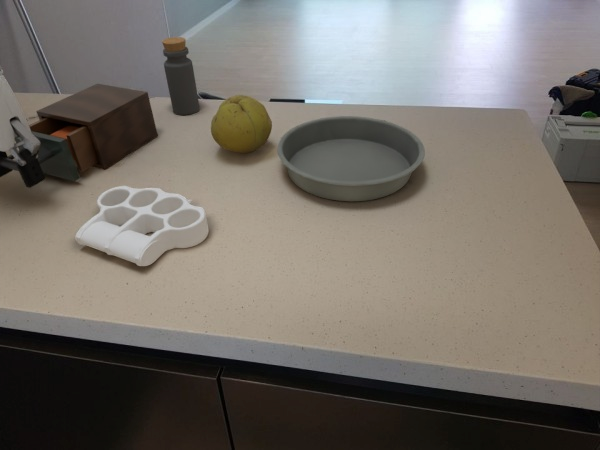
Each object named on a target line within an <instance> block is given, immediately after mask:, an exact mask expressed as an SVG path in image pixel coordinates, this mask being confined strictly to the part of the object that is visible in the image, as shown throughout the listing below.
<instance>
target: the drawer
mask: <svg viewBox="0 0 600 450" xmlns="http://www.w3.org/2000/svg"><path fill="white" fill-rule="evenodd" d="M68 125H70V126H74V127H79V129H77V130H75V131H73V132H71V133H69V134H67V135H66V136H67V139H68V142H69V144H70V147H71V150H72V153H73V155H74V158H75V160H73V157H72V155H71V152H70V149H69V146H68V144H67V141H66V139H63V138H59V137H55V136H50V135H51V134H53V133H55V132H57V131H59V130H61V129H62V128H64V127H66V126H68ZM29 127H30V130H31V133H32V134H33V135H34V136H35V137H36V138H37V139H38V140H39V141H40V143H41V145H40V147H39V152H38V156H39V157H38V158H37V159H38V162H39V164H40V166H41V169H42V171H43V173H44V174H46V175H50V176H54V177H57V178H61V179H64V180H68V181H72V182H77V181H78V180H79V179H81V176H80V173H79V172H81V173H84V172H85V171H87V170H88V169H90V168H91V166H93V165H95V164H96V163H98V162H99V158H98V155H97V152H96V149H95V146H94V143H93V140H92V137H91V134H90V131H89V128H88V126H86V125H81V124H77V123H72V122H67V121H63V120H58V119H53V118H48V117H45V118H43V119H41V120H37V121H35V122H33V123H30V124H29ZM18 142H20V140H19V139H17V138H16V139H15V144H16V143H18ZM17 149H18V151H19V153H20V154H21V155H22V153H23V150H25V148H24V147H23V145H21V146H19V147H17ZM18 164H19V163H18V162H17V161H16V159H15V158H14V157H13V155H12V154H11V153H10V155H7V157H5V158H4V157H0V166H2V167H5V168H9V169H13V171H16V172H19V170H18V168H17V166H16V165H18Z"/></svg>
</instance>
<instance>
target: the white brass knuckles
mask: <svg viewBox="0 0 600 450" xmlns="http://www.w3.org/2000/svg"><path fill="white" fill-rule="evenodd" d="M192 202H193V199H187V198H186V197H185V196H183V195H181V194H180V193H178V192H177V193H172V192H167V191H164V190H163V189H162V188H159V187H145V188H134V187H131V186H128V185H119V186H115V187H112V188H109V189H107V190H104V192H102V193H101V194H100V195H99V196H98V197H97V200H96V204H97V207H98V210H99V212H98V213H97V214H95V215H94V216H92V217H91V218H89V219H88V221H86V222H85V223H84V224H82V225H81V227H80V228H79V229H78V231H77V232H76V233H75V236H74V238H75V242H76V243H78V245H80V246H87V247H90V248H93V249H94V250H97V251H100V252H103V253H106V255H108V256H114V257H117V258H119V259H123V260H125V261H127V262H131V263H132V264H133V263H134V264H136V266H139V267H148V266H150V265H152V264H153V263H155V262H156V261H157V260H158V259H159V258H161V256H162V255H163V254H165V253H166V252H167V251H170V250H173V249H188V248H192V247H195V246H197V245H200V244H201V243H203V242H204V241H205V239H207V237H208V235H209V231H210V230H209V223H208V219H207V214H206V210H205V209H204V208H203V207H202V206H196V205H193V204H191V203H192ZM149 233H152V234H151V235H148V234H149Z"/></svg>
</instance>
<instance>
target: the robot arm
mask: <svg viewBox="0 0 600 450" xmlns="http://www.w3.org/2000/svg"><path fill="white" fill-rule="evenodd" d="M29 125H30V124H29V122H28V119H27V117H26V115H25V112H24V110H23V109H22V106H21V104H20V102H19V100H18V98H17V96H16V94H15V93H14V91H13V89H12V87H11V85H10V84H9V82H8V80H7V79H6V77H5V75H4V70H3V67H2V65H1V64H0V157H4V158H5V157H7V156H8V154H7V152H9V153H10V155H11V154H12V155H13V157H14V158H15V159H14V160H16V161H17V162H18V163H19V164H18V165H16V166H17V168H18V170H19V171H18V173H19V175H20V177H21V179H22V181H23V184H24V185H25V187H26V188H29V189H31V188H33V187H35V186H36V185H38V184H40V183H42V181H45V179H46V176H45V173H43V171H42V169H41V166H40V164H39V162H38V159H37V158H38V157H39V156H38V152H39V147H40V145H41V143H40V141H39V140H38V139H37V138H36V137H35V136H34V135H33V134H32V133H31V130H30V127H29ZM16 138H17V139H19V140H20V142H18V143H16V142H15V139H16ZM21 145H23V147H24V148H25V150H23V153H22V155H21V154H20V153H19V149H18V147H19V146H21ZM13 171H14V170H13V169H9V168H5V167H2V166H0V178H2V177H3V176H5V175H7V174H10V173H11V172H13Z"/></svg>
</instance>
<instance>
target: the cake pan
mask: <svg viewBox="0 0 600 450" xmlns="http://www.w3.org/2000/svg"><path fill="white" fill-rule="evenodd" d="M276 151H277V156H278V157H279V159H280V161H281V162H282V164H283V166H285V167H286V170H287V173H288V174H287V175H288V176H289V178H290V180H291V182H293V183H294V184H295V185H296V186H297V187H298V188H300V189H301V190H303V191H304V192H307V193H308V194H311V195H313V196H316V197H319V198H323V199H326V200H331V201H337V202H366V201H373V200H377V199H381V198H384V197H387V196H390V195H392V194H395V193H396V192H398V191H399V190H401V189H402V188H403V187H404V186H406V184H407V183H408V182H409V180H410V179H411V176H412V174H413V172H414V171H416V169H418V167H420V165H421V164H422V162H423V161H424V159H425V155H426V149H425V145H424V144H423V142H422V140H421V139H420V138H419V137H418V136H417V135H416V134H415V133H413V132H412V131H411V130H409V129H407V128H405V127H403V126H401V125H399V124H396V123H393V122H391V121H387V120H383V119H380V118H373V117H367V116H355V115H340V116H327V117H322V118H316V119H312V120H309V121H306V122H303V123H301V124H298V125H296V126H294V127H292V128H291V129H289V130H288V131H286V133H284V134H283V135H282V136H281V137H280V139H279V140H278V143H277V147H276Z"/></svg>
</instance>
